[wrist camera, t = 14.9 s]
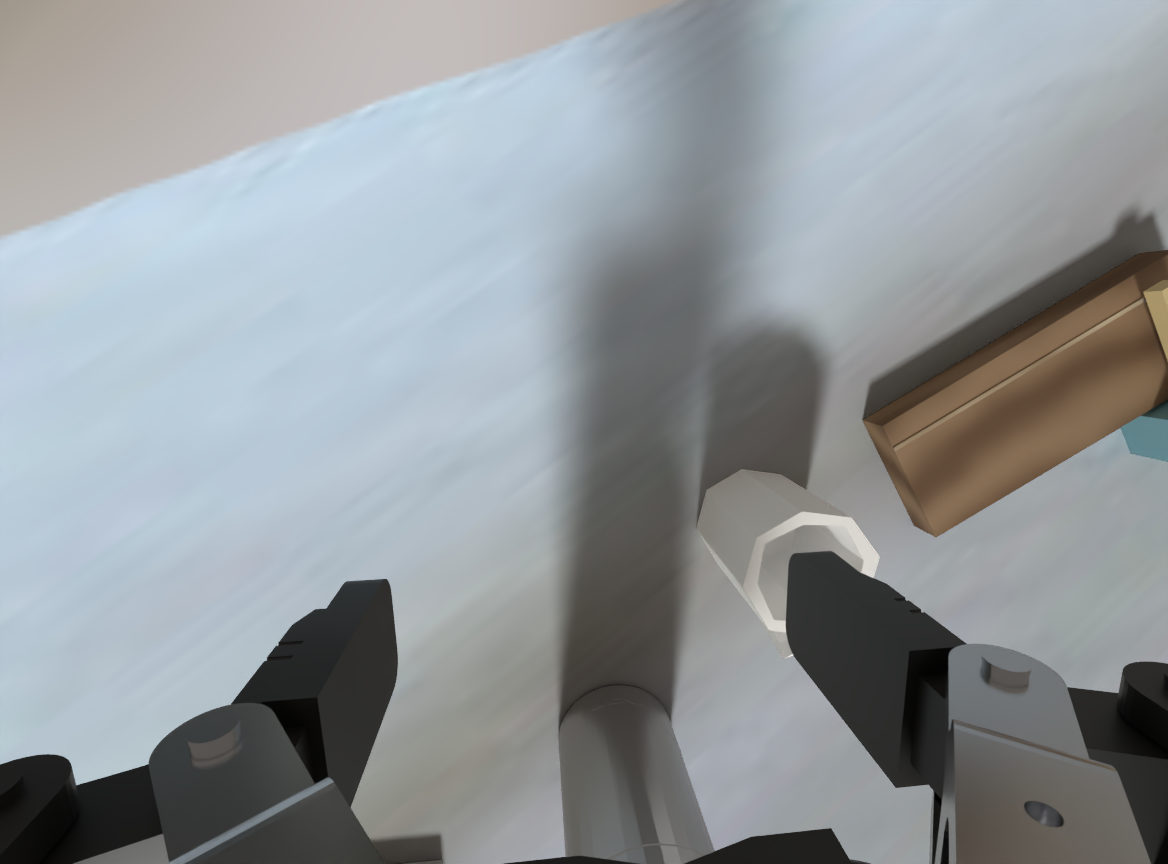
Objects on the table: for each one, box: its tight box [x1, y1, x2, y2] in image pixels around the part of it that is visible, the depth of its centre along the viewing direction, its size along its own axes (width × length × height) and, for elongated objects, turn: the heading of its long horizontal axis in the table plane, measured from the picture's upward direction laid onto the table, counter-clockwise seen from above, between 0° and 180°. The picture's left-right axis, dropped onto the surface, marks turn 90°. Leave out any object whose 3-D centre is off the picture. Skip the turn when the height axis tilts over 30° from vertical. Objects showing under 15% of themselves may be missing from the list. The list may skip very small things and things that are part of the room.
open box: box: [863, 250, 1168, 537], centre depth 43 cm, size 10×24×3 cm, turn 121°
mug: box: [696, 469, 880, 659], centre depth 39 cm, size 12×9×10 cm
